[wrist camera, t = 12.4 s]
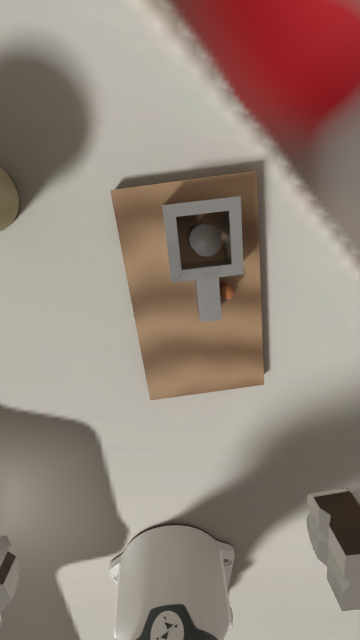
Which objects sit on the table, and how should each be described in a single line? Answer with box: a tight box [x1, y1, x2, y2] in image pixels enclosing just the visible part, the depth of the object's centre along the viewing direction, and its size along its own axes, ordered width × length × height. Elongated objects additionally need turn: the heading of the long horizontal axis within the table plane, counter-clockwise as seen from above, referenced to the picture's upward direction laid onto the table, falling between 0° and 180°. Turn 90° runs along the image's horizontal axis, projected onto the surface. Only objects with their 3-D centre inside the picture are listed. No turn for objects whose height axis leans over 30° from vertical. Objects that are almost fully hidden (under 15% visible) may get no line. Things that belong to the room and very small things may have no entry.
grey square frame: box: [162, 196, 244, 322], centre depth 27 cm, size 10×6×3 cm, turn 6°
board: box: [110, 170, 264, 400], centre depth 29 cm, size 22×13×6 cm, turn 7°
